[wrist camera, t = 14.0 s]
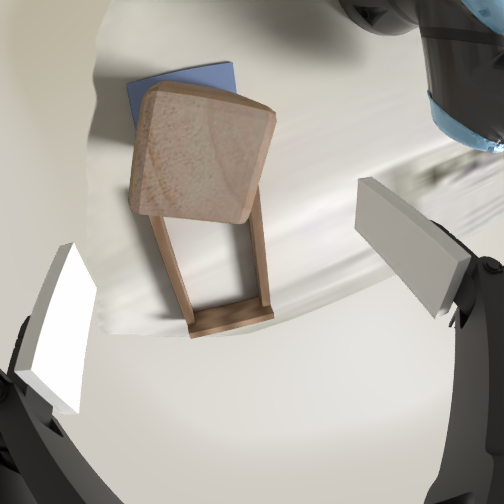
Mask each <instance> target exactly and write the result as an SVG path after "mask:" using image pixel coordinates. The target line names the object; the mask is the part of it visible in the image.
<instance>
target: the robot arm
mask: <svg viewBox="0 0 504 504" xmlns="http://www.w3.org/2000/svg"><path fill="white" fill-rule="evenodd" d="M339 1H340V3H341V5H342V7H343V8H344V10H345V11H346V13H347V14H348V15H349V16H350V17H351V19H352V20H353V21H354V22H356V23H357V24H358V25H359V26H361V27H362V28H364V29H365V30H367V31H369V32H371V33H374V34H377V35H382V36H396V35H402V34H405V33H407V32H409V31H411V30H413V29H415V28H417V27H419V28H420V33H421V39H422V45H423V51H424V57H425V65H426V73H427V82H428V91H427V93H428V97H429V99H430V105H431V114H432V118H433V120H434V122H435V124H436V125H437V126H438V127H439V129H440V130H441V131H442V132H443V133H445V134H446V135H447V136H449V137H450V138H452V139H454V140H456V141H457V142H459V143H462V144H464V145H466V146H469V147H471V148H474V149H477V150H481V151H487V150H488V151H490V152H492V153H499V152H503V151H504V0H339ZM355 229H356V230H357V232H358V233H359V234H360V235H361V236H362V237H363V238H364V239H365V240H366V241H367V242H368V243H369V244H370V245H371V246H372V247H373V248H374V250H375V251H376V252H377V253H378V254H379V255H380V256H381V257H382V258H383V259H384V260H385V262H386V263H387V264H388V265H389V266H390V267H391V268H392V269H393V271H394V272H395V273H396V274H397V275H398V276H399V277H400V278H401V280H402V281H403V282H404V283H405V284H406V285H407V287H409V289H410V290H411V291H412V292H413V294H414V295H415V296H416V297H417V298H418V299H419V301H420V302H421V303H422V304H423V306H424V307H425V308H426V309H427V310H428V312H429V313H430V314H431V315H432V317H433V318H434V319H436V318H439V317H441V316H443V315H444V314H446V313H448V312H449V309H450V307H451V305H452V303H453V301H454V302H455V303H456V305H457V306H458V307H457V309H456V311H455V313H454V315H453V317H452V319H451V321H450V323H449V327H451V326H452V324H453V323H454V321H455V327H454V328H455V332H456V334H455V369H454V382H453V393H452V403H451V411H450V418H449V425H448V431H447V437H446V443H445V448H444V453H443V458H442V462H441V467H440V471H439V474H438V477H437V478H436V480H435V481H434V483H433V484H432V486H431V487H430V489H429V491H428V493H427V496H426V498H425V501H424V504H504V266H502V264H501V263H500V262H498V261H497V260H495V259H493V258H491V257H486V256H483V257H480V258H478V257H477V256H476V255H475V254H474V253H473V252H472V251H471V250H470V249H468V248H467V247H466V246H465V245H464V244H463V243H462V242H461V241H459V240H458V239H456V237H455V236H454V235H452V234H451V233H449V231H448V230H446V229H445V228H444V227H443V226H442V225H440V224H438V223H436V222H434V221H432V220H429V219H428V218H426V217H425V216H424V215H423V214H421V213H420V212H419V211H417V210H416V209H415V208H414V207H412V206H411V205H410V204H408V203H407V202H406V201H404V200H403V199H402V198H400V197H399V196H398V195H396V194H395V193H394V192H392V191H391V190H389V189H388V188H387V187H385V186H384V185H382V184H381V183H380V182H378V181H377V180H375V179H374V178H372V177H367V178H360V179H358V191H357V205H356V218H355ZM96 291H97V288H96V286H95V284H94V282H93V280H92V279H91V277H90V275H89V273H88V271H87V269H86V267H85V265H84V263H83V261H82V259H81V257H80V255H79V253H78V251H77V248H76V246H75V244H74V242H72V243H69V244H65V245H62V246H60V247H59V249H58V251H57V253H56V255H55V258H54V260H53V262H52V264H51V266H50V269H49V271H48V273H47V276H46V278H45V281H44V283H43V285H42V288H41V290H40V293H39V295H38V298H37V301H36V303H35V306H34V308H33V311H32V314H31V315H30V316H28V317H27V318H26V320H25V321H24V323H23V324H22V326H21V328H20V331H19V334H18V339H17V340H16V343H15V348H14V350H13V353H12V357H11V360H10V364H9V367H8V371H7V375H6V374H5V373H4V372H3V371H2V370H1V369H0V504H124V503H123V502H122V501H121V500H120V499H119V498H118V497H117V496H116V495H115V494H114V493H113V492H112V491H111V489H110V488H109V487H108V486H107V485H106V484H105V483H104V482H103V480H102V479H101V478H100V477H99V476H98V475H97V473H96V472H95V471H94V470H93V469H92V467H91V466H90V465H89V464H88V462H87V461H86V460H85V459H84V457H83V456H82V455H81V453H80V452H79V451H78V449H77V448H76V447H75V445H74V444H73V442H72V441H71V440H70V438H69V437H68V435H67V434H66V432H65V431H64V429H63V428H62V427H61V425H60V424H59V422H58V420H57V419H56V418H55V417H54V416H53V415H52V409H53V407H54V408H55V409H56V410H57V411H58V412H60V413H61V414H62V415H64V414H79V404H80V393H81V382H82V373H83V365H84V357H85V350H86V344H87V338H88V332H89V326H90V320H91V314H92V310H93V304H94V300H95V295H96Z"/></svg>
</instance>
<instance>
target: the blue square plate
mask: <svg viewBox="0 0 504 504" xmlns="http://www.w3.org/2000/svg"><path fill="white" fill-rule="evenodd" d="M165 80H168V81H175V82H182V83H189V84H195V85H201V86H207V87H212V88H218V89H223V90H227V91H230V92H233V93H235V94H237V93H236V85H235V77H234V69H233V62H231V63H223V64H216V65H210V66H204V67H198V68H192V69H187V70H182V71H177V72H172V73H168V74H163V75H159V76H155V77H151V78H147V79H143V80H139V81H136V82H132V83H128V84H126V85H127V90H128V95H129V100H130V105H131V109H132V114H133V119H134V123H135V128H136V131H137V125H138V119H139V113H140V107H141V102H142V98H143V96H144V95H145V93H146V92H147V90H148V89H149V88H151V87H152V86H154V85H156V84H157V83H159V82H161V81H165Z"/></svg>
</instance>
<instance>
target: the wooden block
mask: <svg viewBox="0 0 504 504" xmlns="http://www.w3.org/2000/svg"><path fill="white" fill-rule="evenodd" d="M276 122H277V121H276V112H274V111H273V110H272V109H270V108H269V107H268V106H265V105H263V104H261V103H258V102H256V101H253V100H251V99H248V98H246V97H243V96H241V95H238V94H235V93H233V92H230V91H227V90H223V89H218V88H212V87H207V86H201V85H195V84H189V83H182V82H175V81H168V80H165V81H161V82H159V83H157V84H156V85H154V86H152V87H151V88H149V89H148V90H147V92H146V93H145V95H144V96H143V98H142V102H141V107H140V113H139V119H138V125H137V131H136V138H135V145H134V152H133V160H132V168H131V177H130V187H129V198H128V202H129V205H130V208H131V210H132V212H135V213H137V214H141V215H152V216H162V217H172V218H182V219H192V220H202V221H211V222H221V223H230V224H243V223H245V222H246V221H247V219H248V217H249V215H250V212H251V208H252V205H253V201H254V198H255V194H256V191H257V187H258V184H259V180H260V177H261V173H262V170H263V166H264V163H265V159H266V156H267V153H268V149H269V146H270V142H271V139H272V136H273V132H274V129H275V125H276Z"/></svg>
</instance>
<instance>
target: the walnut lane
mask: <svg viewBox="0 0 504 504" xmlns="http://www.w3.org/2000/svg"><path fill="white" fill-rule="evenodd" d="M148 216H149V219H150V222H151V225H152V228H153V231H154V234H155V237H156V240H157V243H158V246H159V249H160V252H161V255H162V258H163V261H164V264H165V267H166V270H167V272H168V275H169V278H170V281H171V283H172V286H173V289H174V291H175V294H176V297H177V299H178V302H179V305H180V307H181V310H182V312H183V315H184V317H185V320H186V322H187V325H188V331H189V335H190V337H191V339H192V338H197V337H201V336H205V335H210V334H214V333H218V332H223V331H227V330H231V329H235V328H239V327H243V326H247V325H251V324H255V323H258V322H262V321H266V320H270V319H273V318H274V312H273V310H272V308H271V304H270V293H269V283H268V273H267V263H266V252H265V243H264V233H263V223H262V213H261V204H260V194H259V185H258V187H257V191H256V194H255V198H254V201H253V205H252V208H251V212H250V215H249V225H250V233H251V240H252V248H253V256H254V263H255V271H256V279H257V286H258V294H259V297H257V298H253V299H249V300H245V301H241V302H237V303H233V304H229V305H225V306H221V307H216V308H212V309H208V310H204V311H199V312H195V313H194V312H193V309H192V306H191V303H190V300H189V298H188V295H187V292H186V289H185V286H184V283H183V280H182V277H181V274H180V271H179V268H178V265H177V262H176V258H175V255H174V252H173V249H172V246H171V242H170V239H169V236H168V233H167V229H166V226H165V222H164V219H163V217H162V216H152V215H148Z"/></svg>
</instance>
